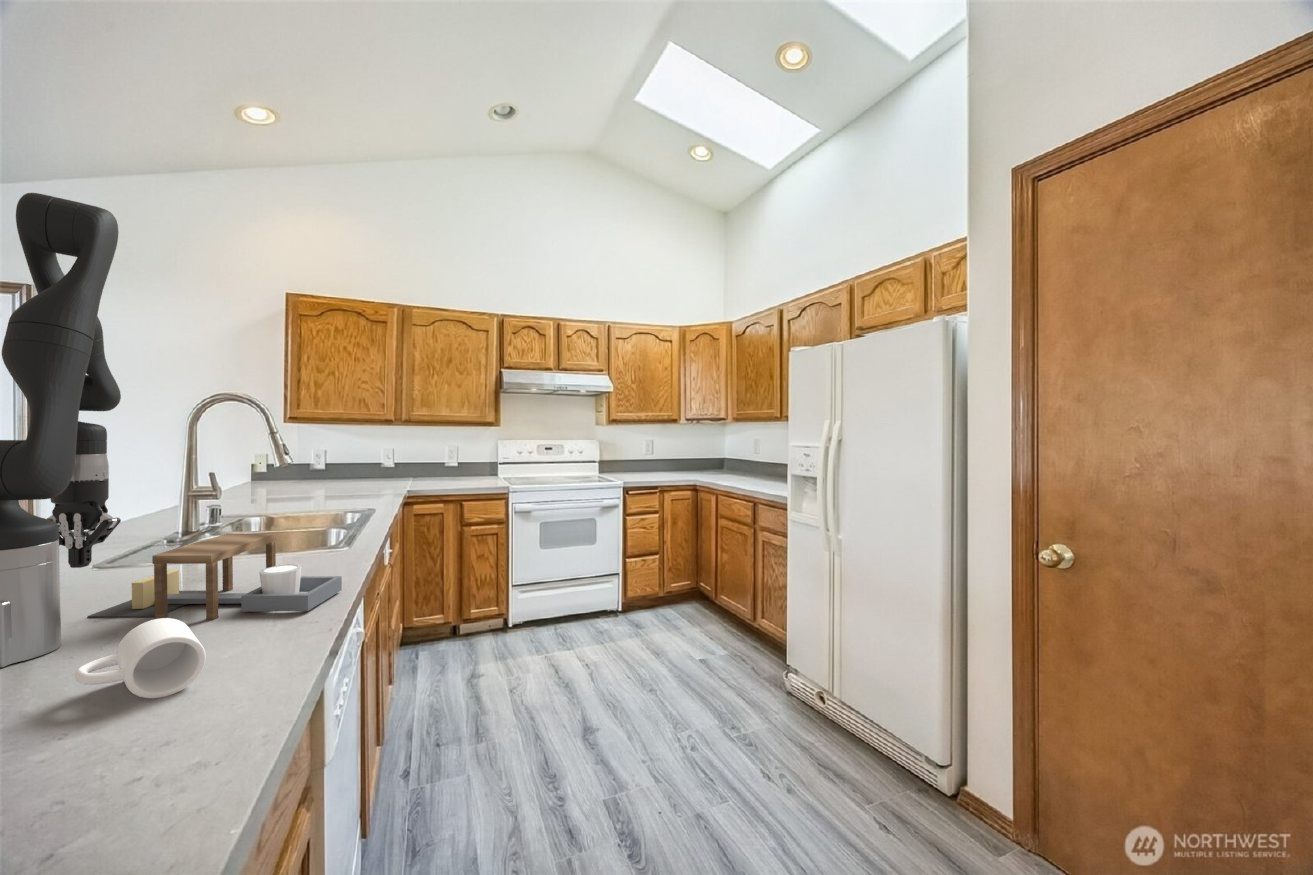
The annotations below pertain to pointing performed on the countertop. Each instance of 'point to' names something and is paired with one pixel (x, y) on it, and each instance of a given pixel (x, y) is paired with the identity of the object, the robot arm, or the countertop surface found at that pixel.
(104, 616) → the mat
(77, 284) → the robot arm
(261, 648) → the countertop surface
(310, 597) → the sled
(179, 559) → the small wooden table
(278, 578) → the white cup
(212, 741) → the countertop surface
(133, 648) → the mug
